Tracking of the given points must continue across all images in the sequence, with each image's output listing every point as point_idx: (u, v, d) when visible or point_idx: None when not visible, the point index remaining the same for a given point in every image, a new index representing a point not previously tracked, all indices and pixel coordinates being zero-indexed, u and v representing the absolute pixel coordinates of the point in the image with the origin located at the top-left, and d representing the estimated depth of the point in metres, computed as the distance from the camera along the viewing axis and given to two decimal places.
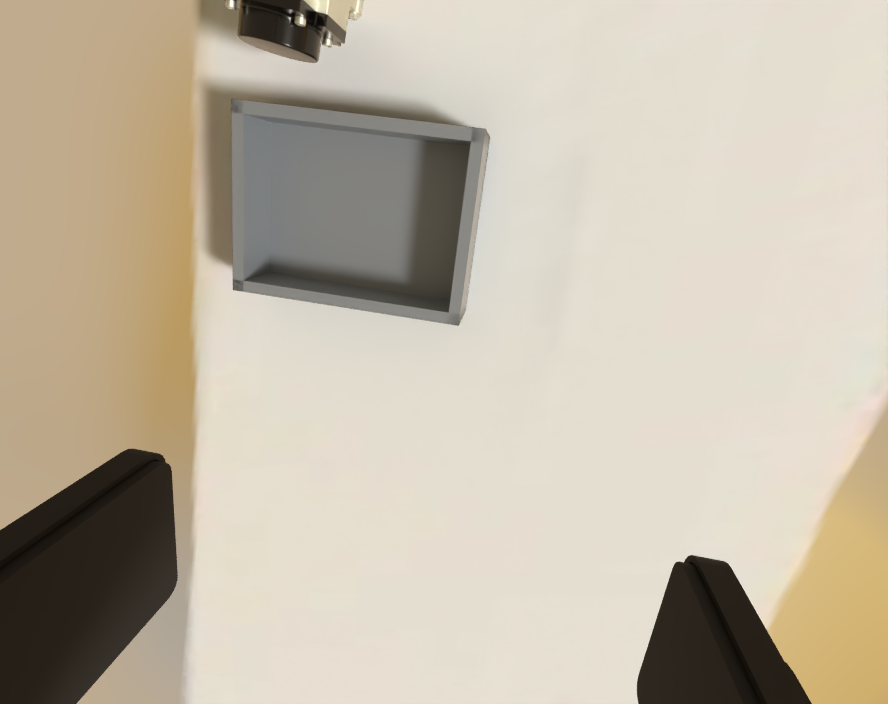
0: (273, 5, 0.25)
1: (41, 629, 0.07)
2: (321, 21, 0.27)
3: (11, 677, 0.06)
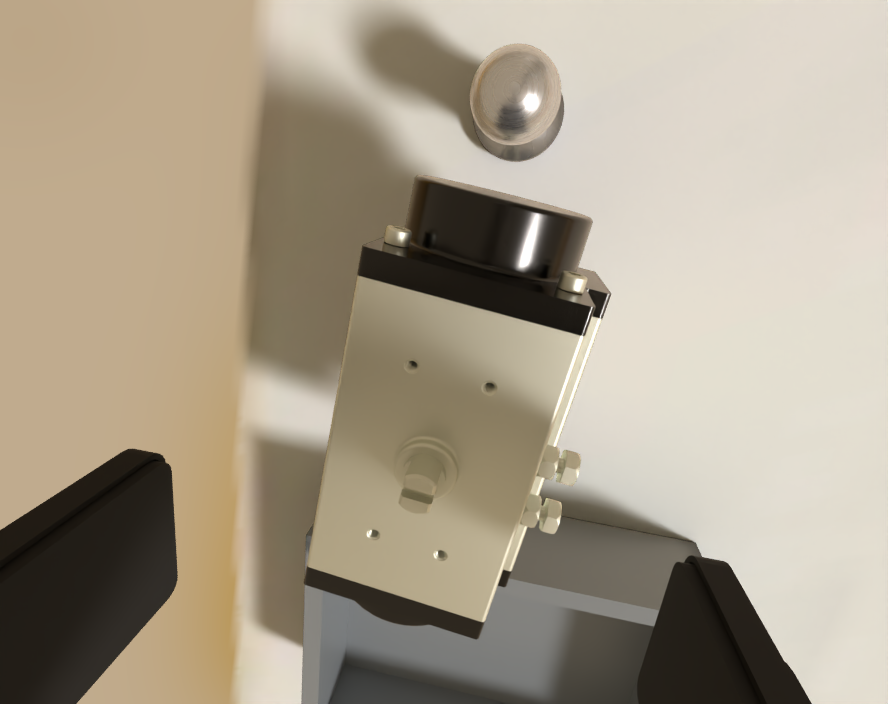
0: (426, 620, 0.13)
1: (41, 629, 0.07)
2: (499, 580, 0.14)
3: (11, 677, 0.06)
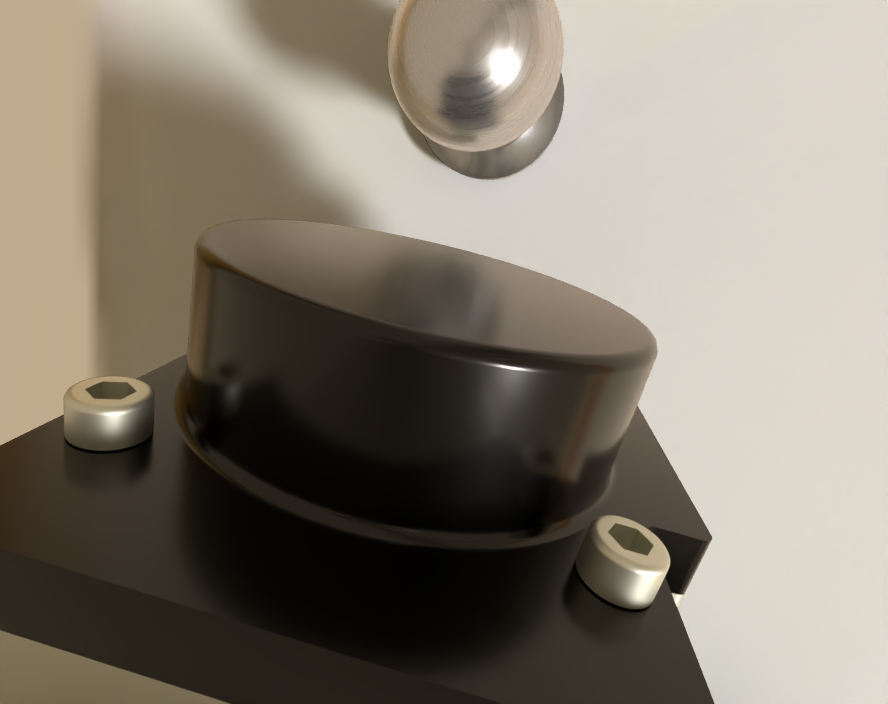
0: None
1: None
2: None
3: None
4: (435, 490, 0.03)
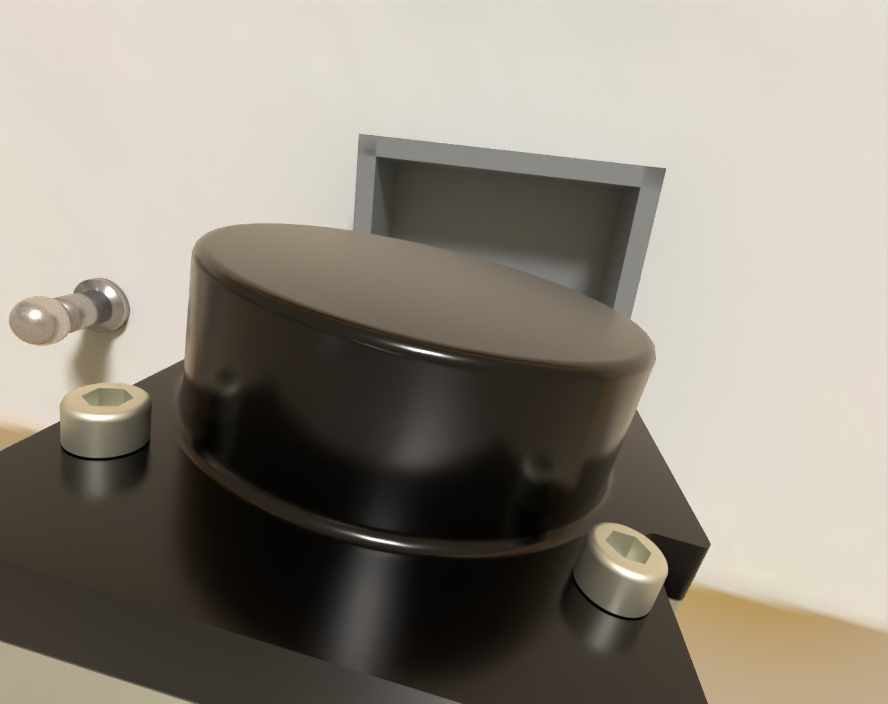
0: None
1: None
2: None
3: None
4: (432, 498, 0.03)
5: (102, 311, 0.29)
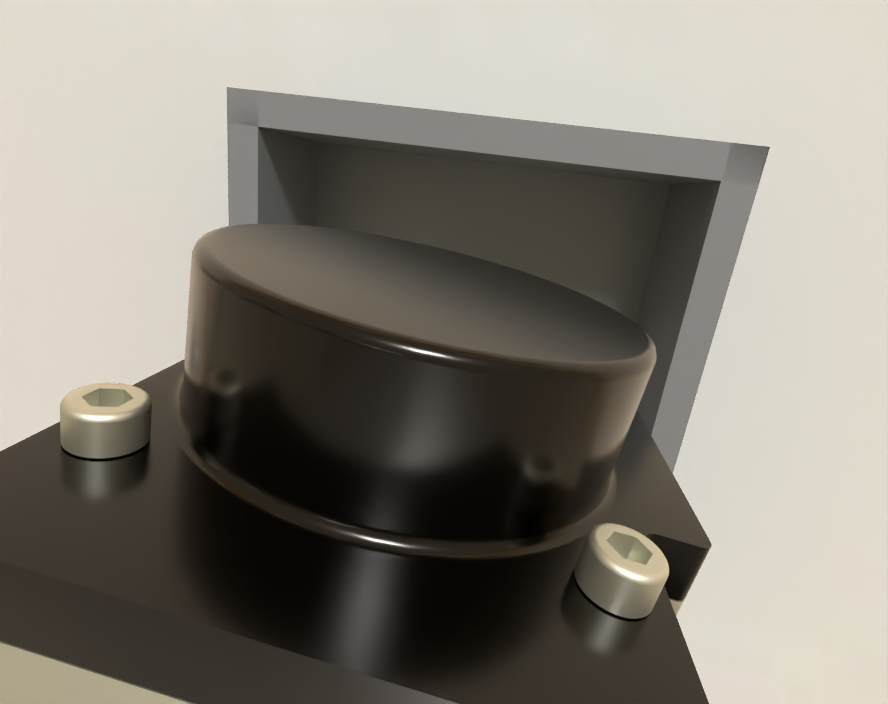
0: None
1: None
2: None
3: None
4: (433, 499, 0.03)
5: None
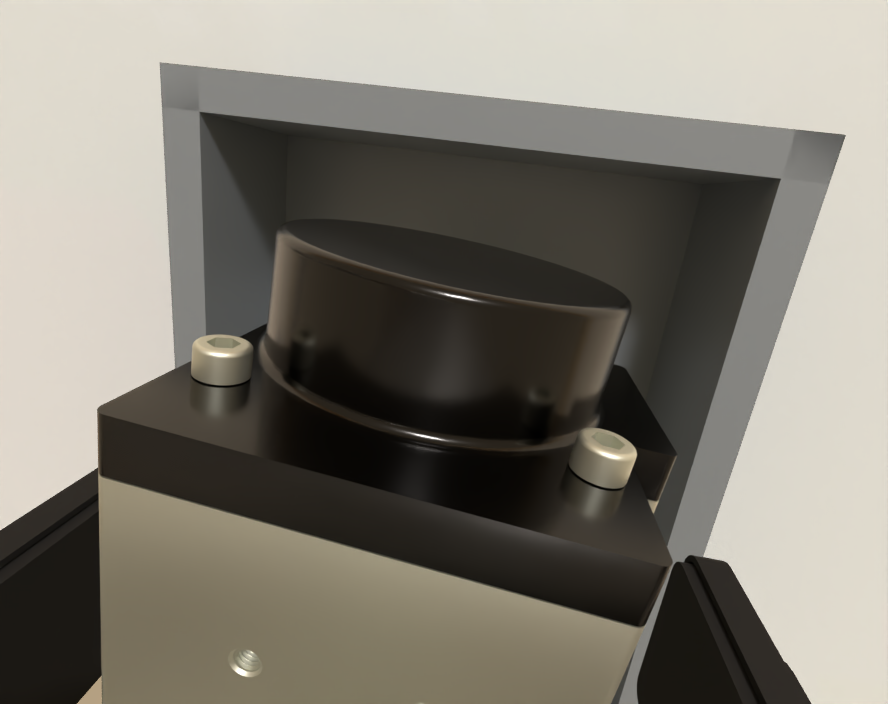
0: None
1: (42, 629, 0.07)
2: None
3: (12, 677, 0.06)
4: (464, 405, 0.05)
5: None
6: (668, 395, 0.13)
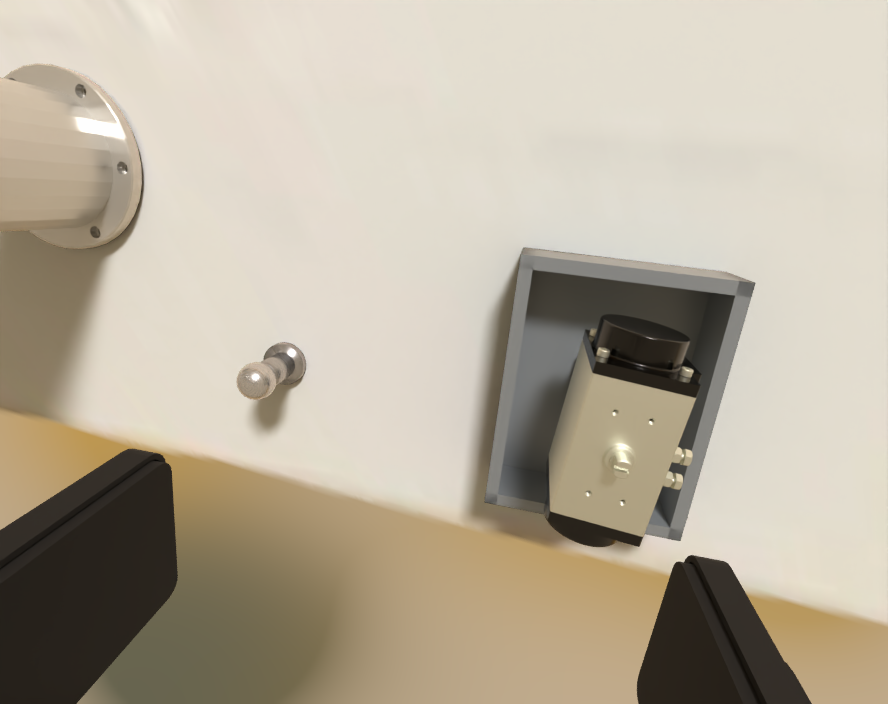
0: (612, 537, 0.25)
1: (41, 629, 0.07)
2: None
3: (11, 677, 0.06)
4: (658, 361, 0.23)
5: (290, 369, 0.37)
6: (698, 370, 0.31)
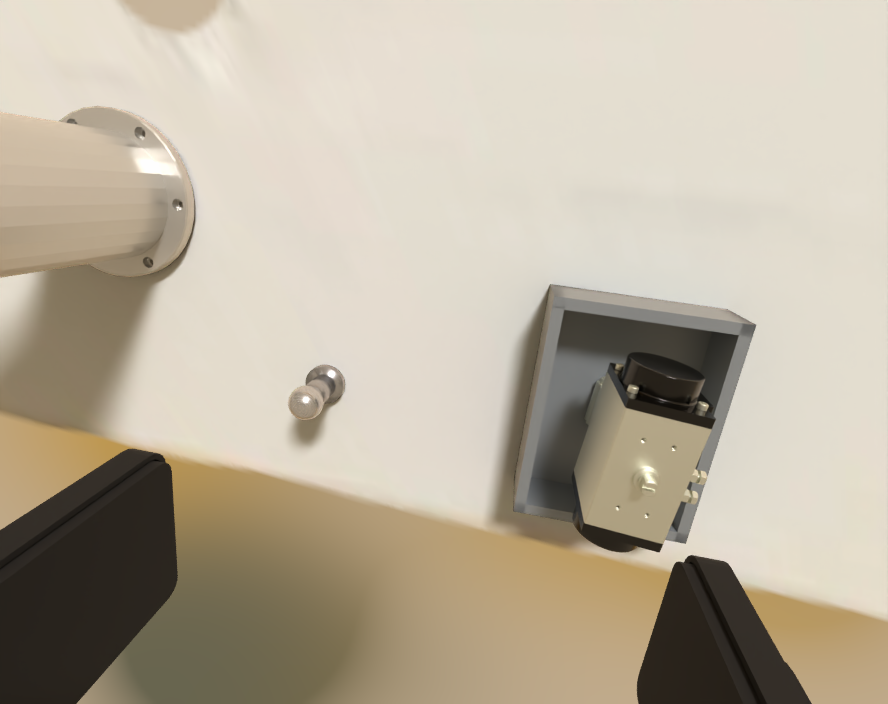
0: (636, 545, 0.30)
1: (41, 629, 0.07)
2: None
3: (11, 677, 0.06)
4: (679, 397, 0.28)
5: (332, 390, 0.41)
6: None
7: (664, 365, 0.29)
